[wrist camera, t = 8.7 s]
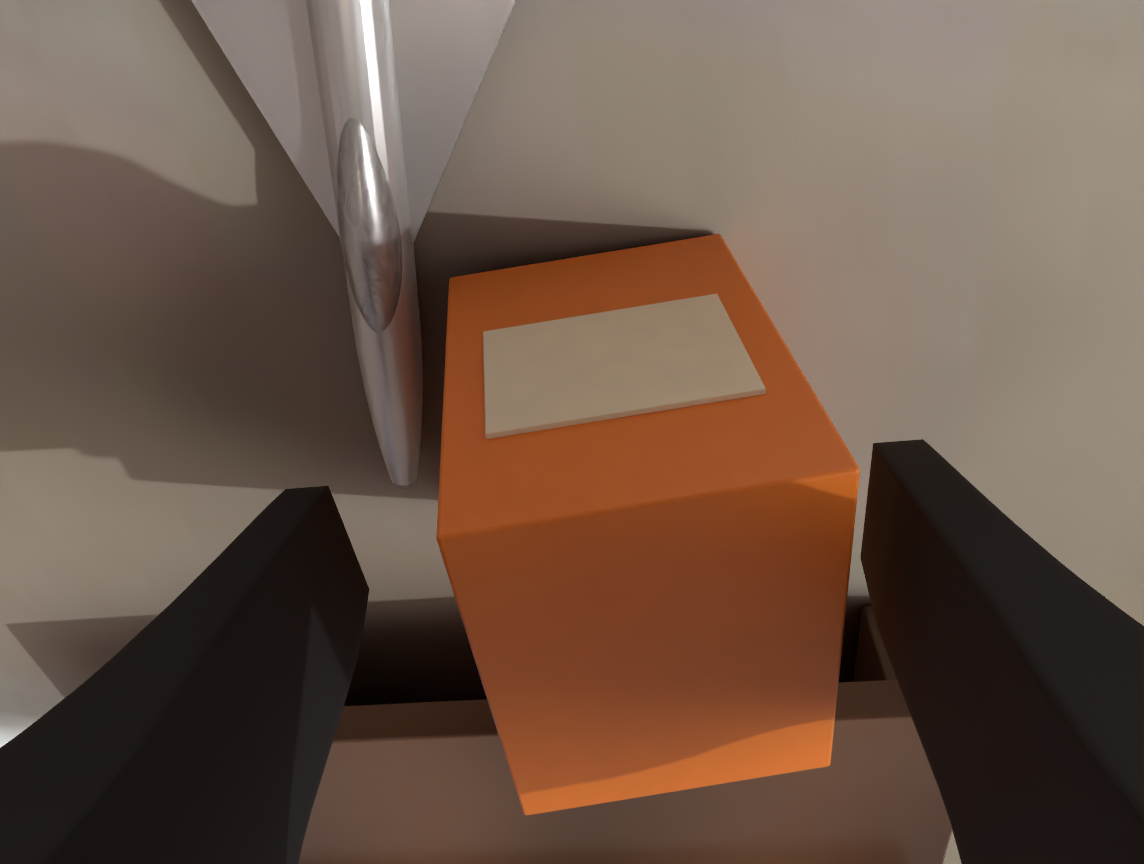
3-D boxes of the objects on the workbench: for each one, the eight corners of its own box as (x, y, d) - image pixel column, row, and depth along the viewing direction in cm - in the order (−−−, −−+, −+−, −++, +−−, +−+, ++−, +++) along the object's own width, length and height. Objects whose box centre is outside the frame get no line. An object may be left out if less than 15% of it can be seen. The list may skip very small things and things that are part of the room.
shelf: (303, 842, 24) (243, 1044, 20) (170, 634, 18) (54, 857, 14) (890, 824, 22) (949, 1042, 18) (935, 589, 16) (1034, 829, 13)
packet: (508, 526, 15) (523, 818, 11) (447, 271, 12) (433, 532, 8) (726, 490, 15) (831, 767, 11) (720, 227, 12) (863, 463, 8)
